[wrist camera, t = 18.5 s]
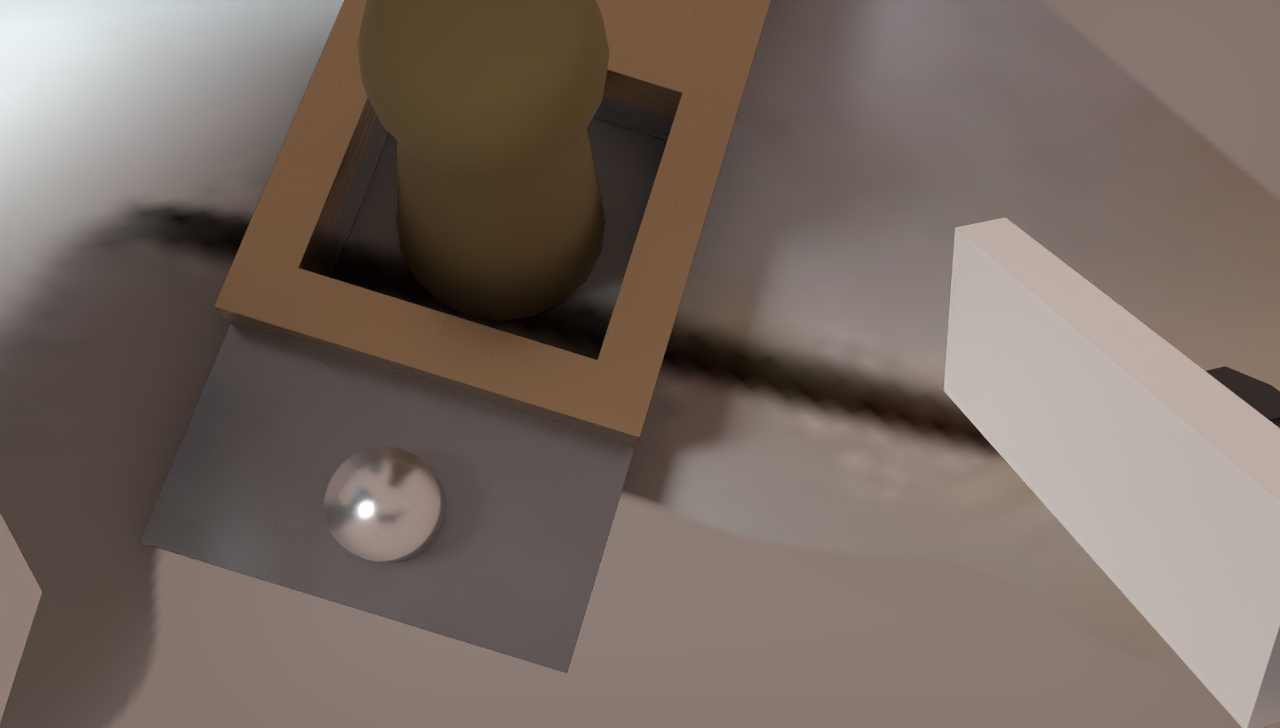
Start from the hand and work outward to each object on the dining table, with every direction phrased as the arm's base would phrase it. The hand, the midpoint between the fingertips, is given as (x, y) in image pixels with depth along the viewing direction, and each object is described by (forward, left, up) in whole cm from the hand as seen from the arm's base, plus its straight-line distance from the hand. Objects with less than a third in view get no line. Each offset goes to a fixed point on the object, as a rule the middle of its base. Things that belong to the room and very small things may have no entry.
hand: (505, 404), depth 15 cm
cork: (+8, +3, -16) cm, 18 cm away
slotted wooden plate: (+8, +3, -16) cm, 18 cm away
